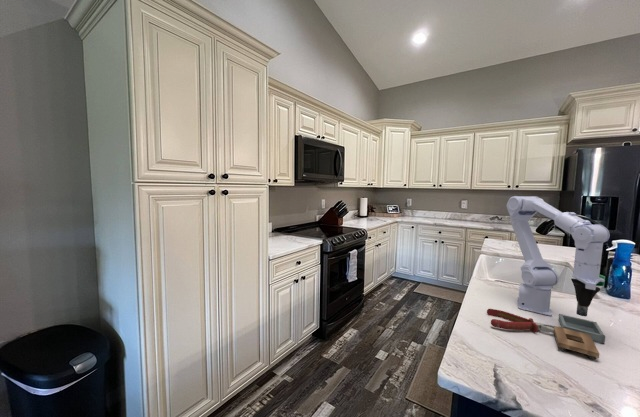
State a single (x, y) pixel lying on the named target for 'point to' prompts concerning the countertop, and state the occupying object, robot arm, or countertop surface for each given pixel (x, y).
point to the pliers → (517, 322)
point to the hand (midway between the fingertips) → (582, 304)
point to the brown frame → (584, 347)
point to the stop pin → (581, 310)
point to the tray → (582, 327)
